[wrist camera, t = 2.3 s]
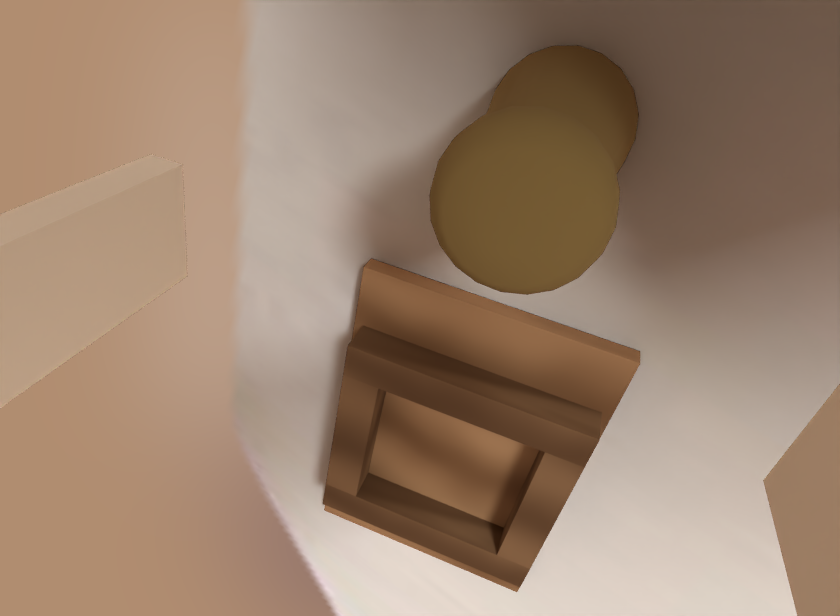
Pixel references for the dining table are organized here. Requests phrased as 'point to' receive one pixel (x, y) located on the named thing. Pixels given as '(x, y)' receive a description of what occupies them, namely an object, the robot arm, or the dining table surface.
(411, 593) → the dining table surface
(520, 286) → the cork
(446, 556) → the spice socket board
